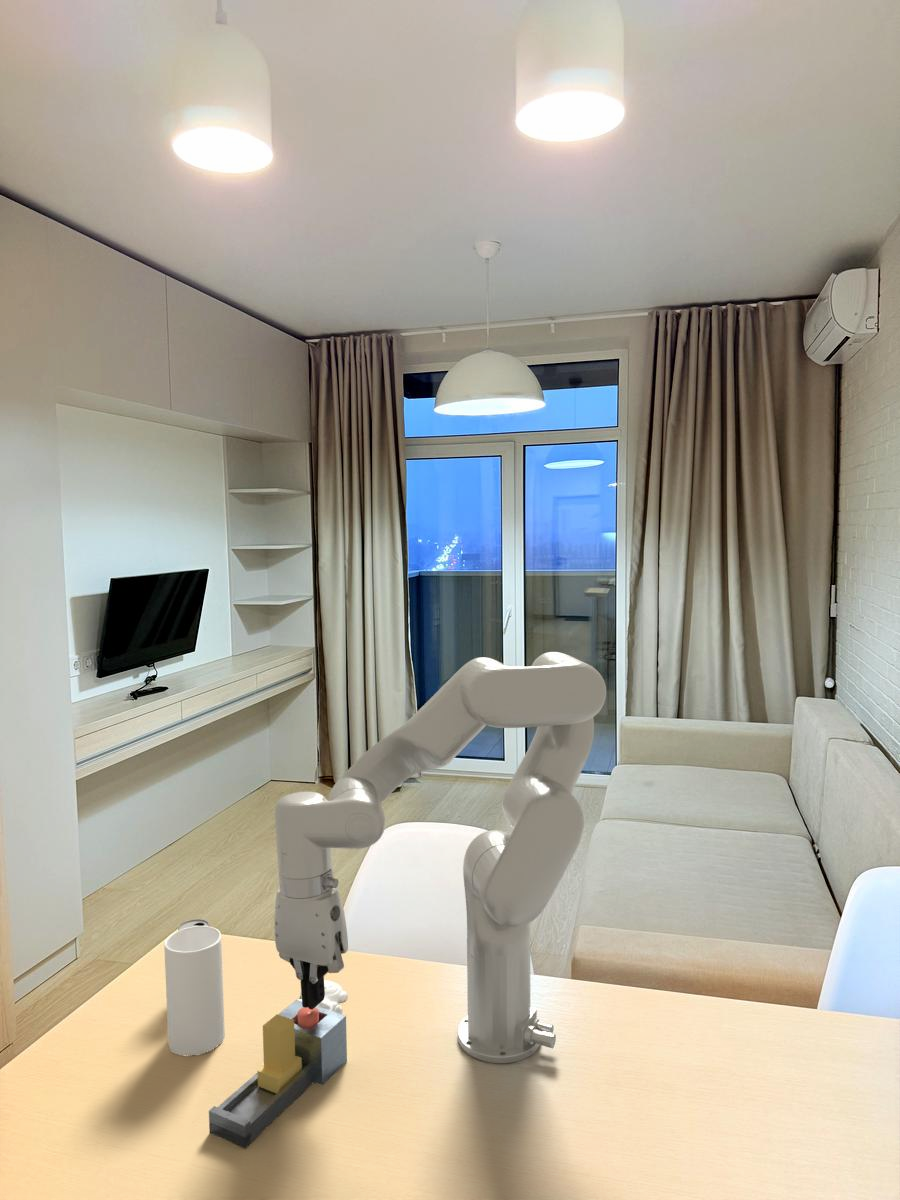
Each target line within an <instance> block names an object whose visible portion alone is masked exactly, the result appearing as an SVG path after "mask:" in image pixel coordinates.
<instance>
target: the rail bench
mask: <svg viewBox="0 0 900 1200" xmlns="http://www.w3.org/2000/svg"><path fill="white" fill-rule="evenodd" d="M301 1008H304V1007H303V1006H302V1001H299V999H296V1000H294V1001H293V1002H292V1003H290V1004H289V1005H288V1006H287V1007H286V1008H284V1009H283V1010H282V1011H280V1012H279V1013H277V1014H278V1015H281V1016H284V1017H287V1018H290V1019H293V1020H294V1034H295V1056H298V1057H301V1058H302V1071H300V1072H299V1073H298V1074H297V1075H296V1076H295V1077H294V1078H293V1079H292V1080H291V1081H290V1082H289V1083H288V1084H286V1085H285V1086H284V1087H283V1088H282V1089H281V1090H280V1091H279V1092H278V1093H274V1092H271V1091H269V1090H266V1089H264V1088H261V1087H259V1086H258V1073H257V1072H256V1073H255V1074H254V1075H253V1076H252V1077H250V1078H249V1079H248V1080H247V1081H246V1082H245V1083H243V1084H242V1085H241V1086H240V1087H239V1088H238V1089H237V1090H235V1091H234V1092H233V1093H232V1094H231V1095H230V1096H228V1097H227V1098H226V1099H225V1100H223V1102H222V1103H220V1104H219V1105H218V1106H212V1108H210V1109H209V1110H208V1123H209V1126H208V1127H209V1134H211V1135H213V1136H216V1137H218V1138H220V1137H221V1139H223V1140H225V1141H227V1142H230V1143H232V1144H234V1145H236V1146H239V1147H241V1148H243V1149H244V1150H245V1149H247V1148H248V1147H249V1146H250V1145H251V1144H252V1143H253V1142H255V1140H256V1139H257V1138H258V1137H259V1136H260V1135H262V1133H263V1132H264V1131H265V1130H267V1128H269V1127H270V1126H271V1124H272V1123H274V1121H276V1120H277V1119H278V1118H279V1117H280V1116H281V1115H282V1113H283V1114H284V1112H285V1111H286V1110H287V1109H288V1108H289V1107H290V1106H291V1105H292V1104H293V1103H294V1102H295V1101H296V1100H297V1099H298V1098H299V1097H301V1095H302V1094H304V1093H305V1091H306V1090H308V1089H309V1087H311V1086H312V1085H313V1084H317V1085H319V1086H324V1085H325V1084H326V1083H327V1082H328V1081H330V1079H331V1078H332V1077H333V1076H334V1075H335V1074H336V1073H337V1072H338V1071H339V1070H340V1069H341V1068H342V1067H343V1066H344V1065H345V1064H346V1063H347V1062H348V1049H347V1044H348V1042H347V1015H345V1014H343V1013H342V1014H340V1013H337V1012H333V1011H330V1010H327V1009H324V1008H321V1007H318V1006H316V1008H317V1009H318V1010H319V1023H318V1024H316V1025H315V1026H314V1027H313V1028H312V1029H309V1028H306V1027H303V1026H300V1025H298V1011H299V1010H300V1009H301ZM312 1083H313V1084H312Z"/></svg>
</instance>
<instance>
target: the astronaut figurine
mask: <svg viewBox="0 0 900 1200" xmlns="http://www.w3.org/2000/svg"><path fill="white" fill-rule="evenodd" d="M324 989H325V997H324V1000H323V1001H322V1002H321V1003H319V1004H318V1005H317V1006H318V1007H321V1008H324V1009H327V1010H330V1011H333V1012H337V1013H340V1014H343V1008H342V1006H341V1005H340V1004H339V1003H341V1002H345V1001H347V999H348V993H347V991H346V990H343V987H342V986H341V985H340V984H339V983H336V982H334V981H332V980H326V979H324ZM298 1000H299V1001H302V995H301V992H300V998H298Z"/></svg>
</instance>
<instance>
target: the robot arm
mask: <svg viewBox="0 0 900 1200" xmlns="http://www.w3.org/2000/svg"><path fill="white" fill-rule="evenodd" d="M606 698H607V686H606V683H605V680H604V678H603V676H602V674H600V672H599V671H598V670H597V669H596V668H595V667H594V666H592V665H591V664H588V663H586V662H585V661H582V660H580V659H577V658H576V657H574V656H571V655H568V654H566V653H563V652H558V651H549V652H544V653H542V654H541V655H539V656H538V657H536V658H535V660H534V661H533V662H532V664H531V665H530V666H509V665H505V664H503V662H500V661H498V660H496V659H494V658H491V657H484V656H483V657H482V656H481V657H475V658H473V659H470V660H469V661H467V662H466V663H465V664H464V665H463V666H462V667H460V668H459V669H458V670H457V671H456V672H455V673H454V674H453V675H452V676H451V677H450V678H449V679H448V680H447V681H446V682H445V683H444V685H442V686H441V687H440V688H439V689H438V691H436V692H435V693H434V694H433V696H431V697H430V698H429V700H427V701H426V702H425V703H424V705H422V706H421V707H420V708H419V709H418V710H417V711H416V713H414V714H413V715H412V716H411V717H410V718H409V719H408V720H407V721H406V722H405V723H403V724H402V725H401V726H399V727H398V728H396V729H395V730H393V731H392V732H391V733H389V734H388V735H387V736H385V737H383V738H382V739H381V740H379V741H378V742H377V743H376V744H375V743H374V745H373V746H371V747H370V748H369V749H368V750H366V751H365V752H364V754H362V755H361V756H360V757H359V758H358V759H357V760H356V761H355V762H354V763H353V764H352V765H351V766H350V767H349V768H348V769H347V770H346V771H345V772H344V773H343V774H342V775H341V776H340V777H339V779H338V780H337V781H336V783H335V784H333V786H332V788H331V790H330V792H329V794H328V799H327V798H326V797H325V795H323V794H321V793H319V792H316V791H297V792H292V793H288V794H286V795H284V796H282V797H281V798H279V800H278V801H277V802H276V804H275V808H274V819H275V820H274V821H275V822H274V823H275V836H276V838H275V839H276V853H277V868H278V881H279V882H278V885H279V887H278V889H277V891H276V897H275V905H274V923H273V924H274V927H273V928H274V943H275V948H276V951H277V952H278V955H279V958H280V959H282V960H284V961H286V962H288V963H289V964H290V965H291V966H292V968H293V969H294V971H295V976H296V978H297V980H299V981H300V993H301V995H302V998H301V999H302V1006H303V1007H305V1008H307V1007H308V1008H309V1009H314V1008H315V1007H316V1006H317V1005H318V1004H319V1003H321V1002H322V1001H323V1000H324V997H325V989H324V980H325V976H326V975H327V973H329V974H338V973H340V972H341V971H342V970H343V969H344V968H345V965H344V960H343V957H342V955H344V954H346V953H347V952H348V950H349V940H348V939H349V938H348V930H347V929H348V927H347V921H346V915H345V910H344V905H343V900H342V897H341V893H340V891H339V888H338V886H339V879H338V878H335V877H334V876H333V862H332V861H333V860H332V849H345V850H360V849H361V850H362V849H365V848H369V847H371V846H373V845H374V844H376V843H377V842H378V841H379V840H380V839H381V838H382V836H383V834H384V832H385V829H386V816H385V812H384V809H383V807H382V803H383V802H384V801H385V800H386V799H387V798H388V797H389V796H390V795H391V794H392V793H393V792H394V791H395V790H396V789H397V788H398V787H400V785H402V784H403V783H404V782H405V781H407V780H408V779H409V778H412V777H413V776H415V775H417V774H419V773H421V772H425V771H431V770H436V769H441V768H444V767H445V766H447V765H449V764H450V763H451V762H452V761H453V760H454V759H455V758H456V757H457V756H458V755H459V753H460V752H462V751H463V749H464V748H466V746H468V744H469V743H470V742H472V740H473V739H475V738H476V736H477V735H479V733H481V731H482V730H483V729H484V728H485V727H486V726H488V727H491V728H498V729H505V728H506V729H518V728H520V729H521V728H522V729H523V728H534V727H535V728H536V731H535V733H534V736H533V739H532V740H531V742H530V744H529V746H528V749H527V751H526V752H525V754H524V757H523V758H522V759H521V762H520V764H519V765H518V767H517V769H516V771H515V772H514V774H513V776H512V778H511V780H510V782H509V783H508V785H507V787H506V789H505V791H504V793H503V797H502V799H501V808H502V813H503V815H504V818H505V819H506V820H507V822H508V824H509V825H510V827H511V828H512V829H513V830H512V832H511V833H509V832H505V831H503V830H499V829H498V830H497V829H492V830H487V831H483V832H481V833H479V834H478V835H477V836H476V837H475V838H473V839H472V840H471V842H470V843H469V845H468V846H467V848H466V851H465V852H464V853H465V854H464V858H463V864H462V865H463V866H462V875H463V885H464V886H463V887H464V895H465V897H464V898H465V905H466V906H465V907H466V910H465V911H466V967H467V968H466V969H467V970H466V973H467V974H466V979H467V980H466V981H467V982H466V985H467V987H466V989H467V993H466V994H467V999H466V1000H467V1016H465V1017H464V1018H463V1019H462V1020H461V1022H459V1025H458V1027H457V1041H458V1043H459V1045H460V1047H461V1048H462V1049H463V1051H464V1052H466V1053H467V1054H468V1055H469V1056H471V1057H473V1058H474V1059H478V1060H480V1061H482V1062H483V1061H484V1062H487V1063H494V1064H506V1063H507V1064H509V1063H514V1062H518V1061H522V1060H524V1059H526V1058H528V1057H531V1055H532V1054H534V1053H535V1052H536V1051H537V1050H538V1048H539V1047H540V1046H543V1047H546V1048H550V1049H554V1047H555V1045H556V1041H557V1040H556V1039H557V1036H556V1034H555V1033H554V1030H555V1029H554V1025H553V1024H551V1023H547V1022H541V1021H540V1019H539V1018H537V1017H538V1016H537V1015H538V1013H537V1008H536V1007H532V1006H531V935H532V934H531V923H532V922H533V921H534V920H536V919H537V918H538V917H539V916H540V914H542V912H544V910H545V909H546V907H547V905H548V904H549V902H550V901H551V899H552V897H553V896H554V893H555V891H556V889H557V888H558V886H559V884H560V882H561V880H562V878H563V877H564V875H565V873H566V871H567V870H568V867H569V865H570V864H571V862H572V860H573V858H574V856H575V854H576V852H577V850H578V848H579V846H580V843H581V841H582V838H583V832H584V827H585V825H584V823H585V821H584V820H585V819H584V813H583V809H582V807H581V805H580V803H579V802H578V800H577V799H576V797H575V796H574V795H573V794H572V793H573V790H574V788H575V786H576V785H577V784H576V783H577V782H578V779H579V777H580V776H581V773H582V771H583V768H584V767H585V765H586V762H587V760H588V759H589V755H590V753H591V749H592V746H593V742H594V735H595V734H594V733H595V722H594V718H595V717H596V715H598V714H599V713H600V711H601V709H602V708H603V706H604V704H605V702H606Z"/></svg>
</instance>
